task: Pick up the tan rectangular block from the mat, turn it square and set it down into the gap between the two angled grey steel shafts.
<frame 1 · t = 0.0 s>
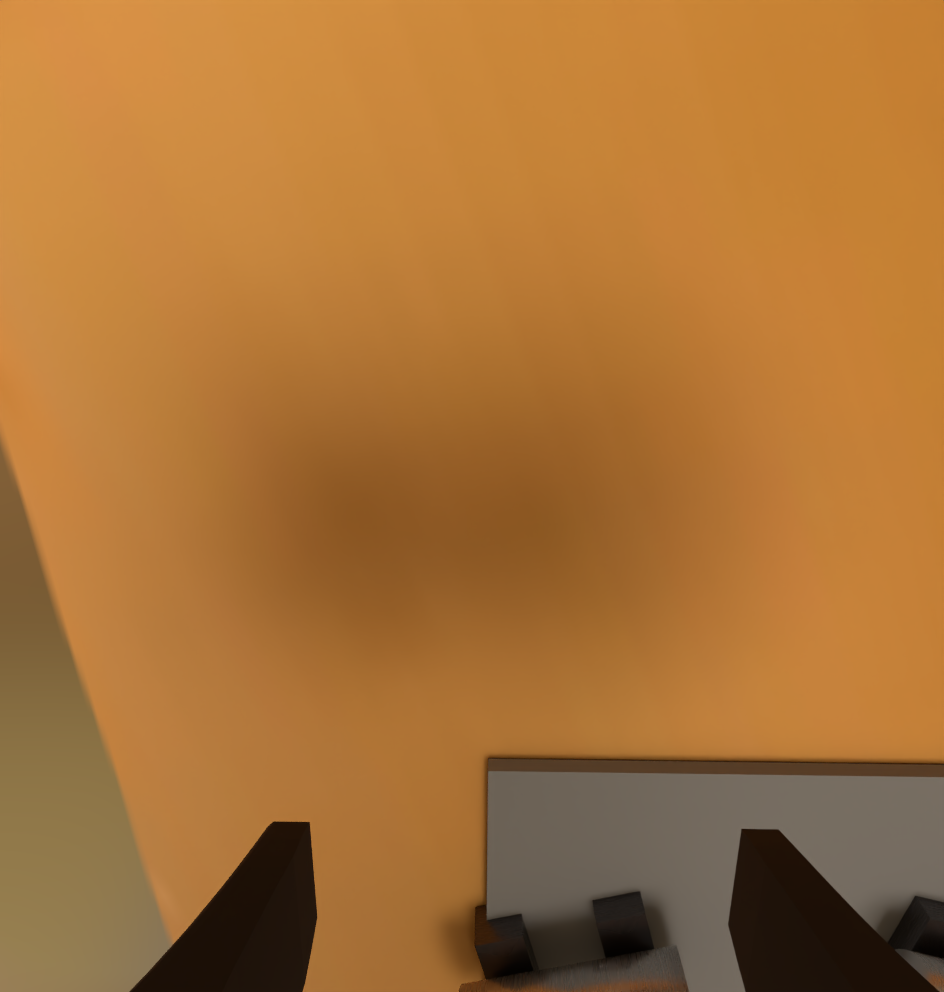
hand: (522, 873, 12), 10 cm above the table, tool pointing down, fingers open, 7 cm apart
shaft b: (568, 936, 26), resting on mat
mat: (787, 955, 26), on the table
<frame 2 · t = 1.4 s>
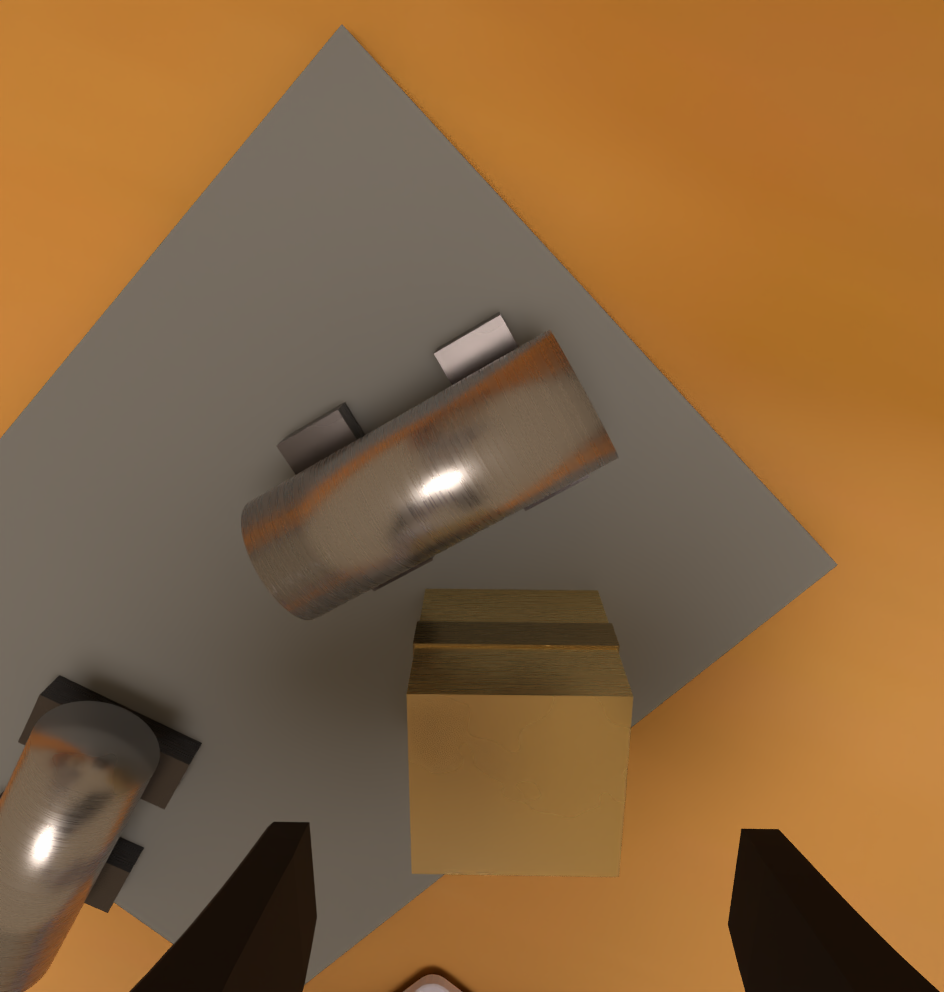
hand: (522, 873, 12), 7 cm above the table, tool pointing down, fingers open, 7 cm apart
tan rectangular block: (510, 665, 19), point 1 cm above the table, touching mat
shaft a: (437, 444, 18), resting on mat
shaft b: (103, 771, 21), resting on mat
mat: (303, 614, 19), on the table
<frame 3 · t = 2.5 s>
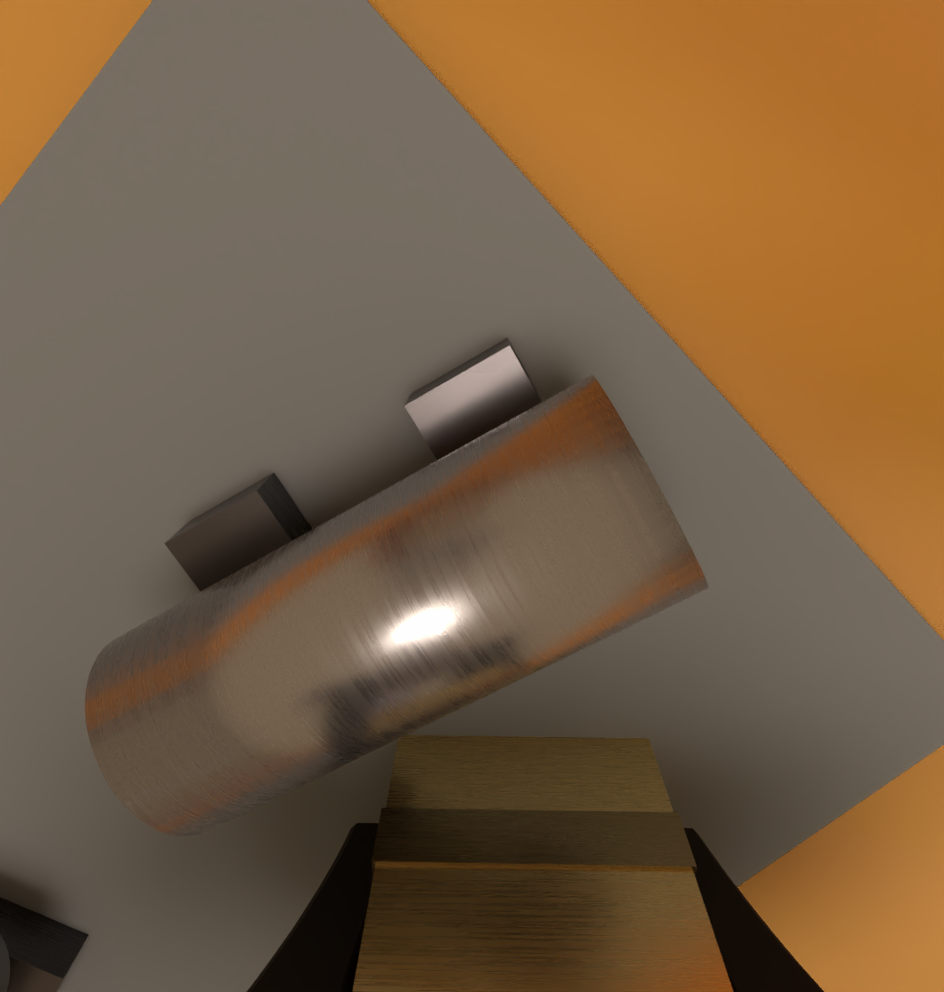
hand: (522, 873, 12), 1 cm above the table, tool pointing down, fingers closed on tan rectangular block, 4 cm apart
tan rectangular block: (520, 837, 13), point 1 cm above the table, touching gripper, mat
shaft a: (415, 530, 12), resting on mat
mat: (227, 760, 14), on the table
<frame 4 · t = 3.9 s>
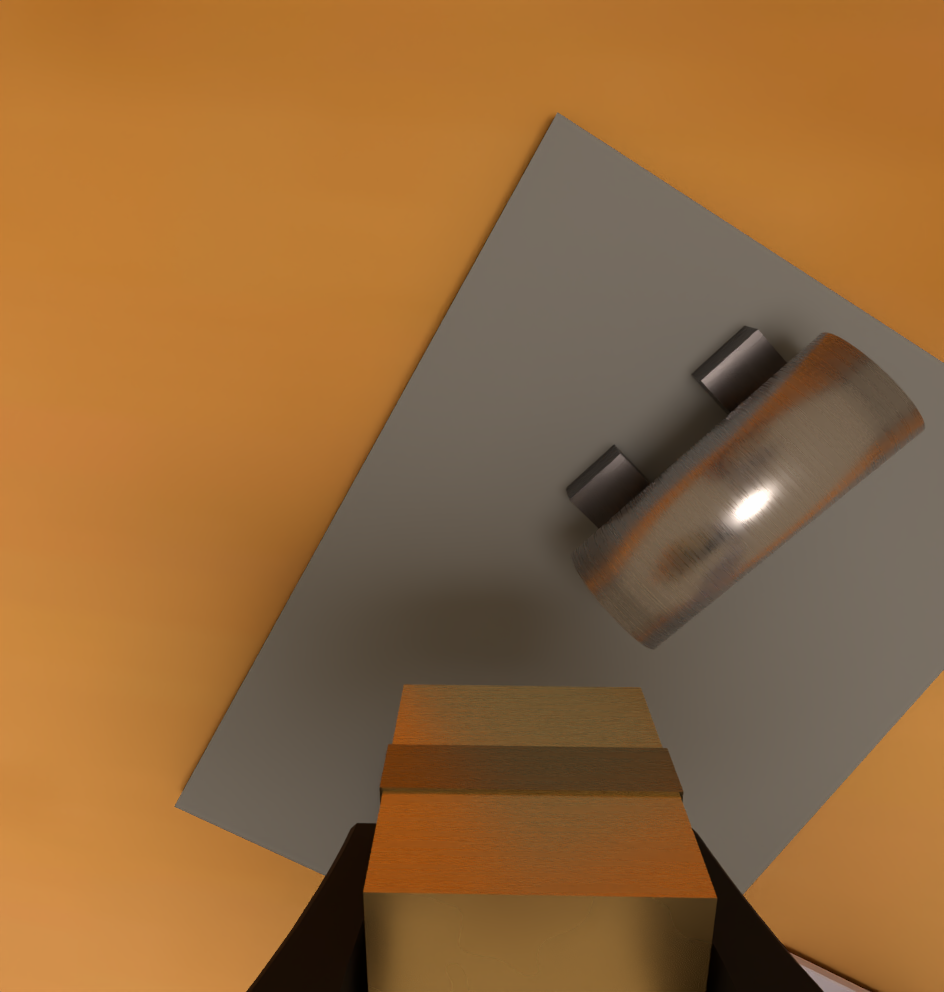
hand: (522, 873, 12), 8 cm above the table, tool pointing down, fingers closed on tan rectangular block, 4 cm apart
tan rectangular block: (519, 785, 14), point 7 cm above the table, touching gripper
shaft a: (698, 460, 19), resting on mat
mat: (599, 644, 21), on the table
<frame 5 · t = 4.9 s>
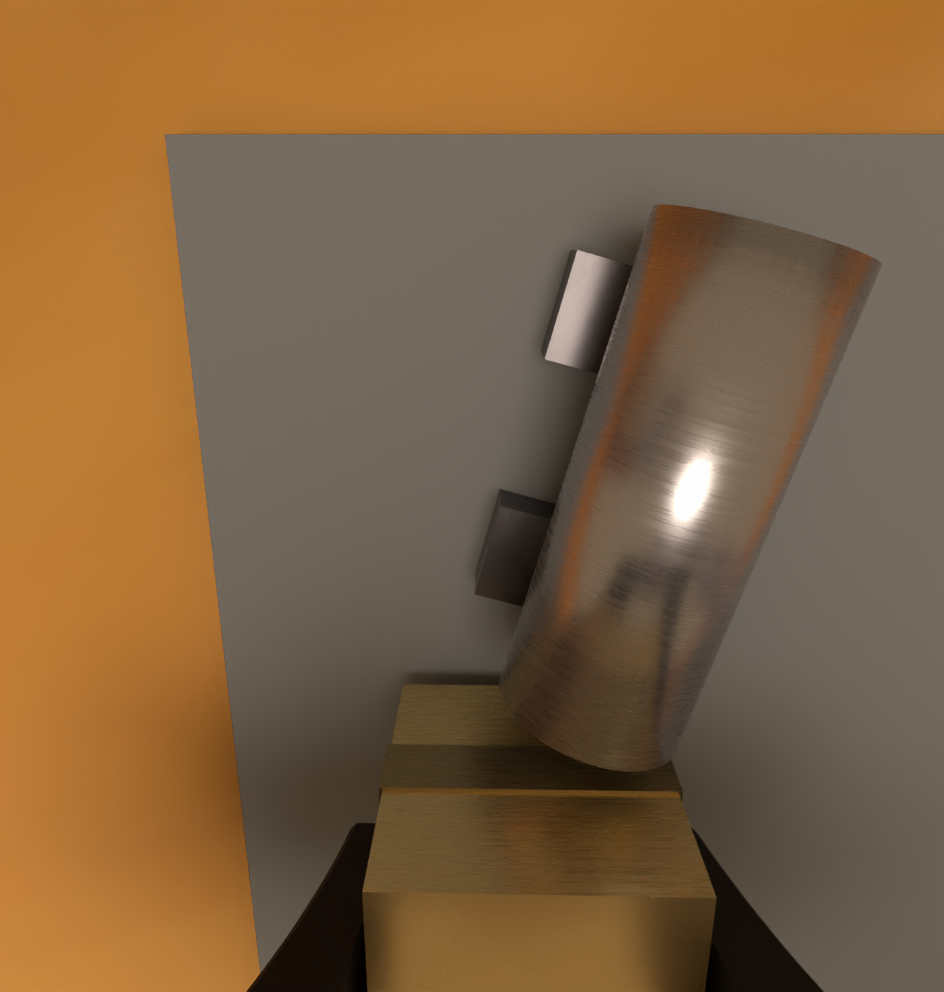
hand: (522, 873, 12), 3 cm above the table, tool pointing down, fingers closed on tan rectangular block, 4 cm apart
tan rectangular block: (518, 785, 14), point 1 cm above the table, touching gripper
shaft a: (628, 444, 13), resting on mat
mat: (645, 722, 15), on the table
when the fingers open (3 cm above the table, at t = 5.3 s): tan rectangular block stays where it is, resting on mat.
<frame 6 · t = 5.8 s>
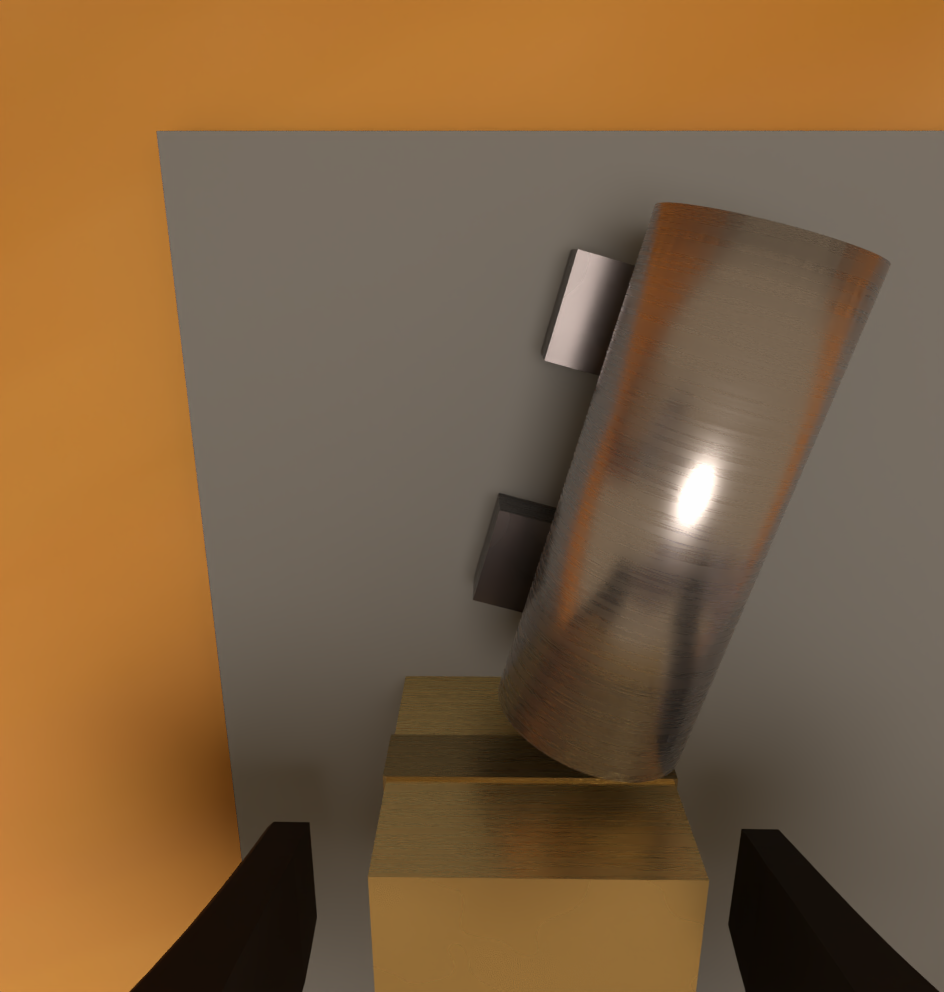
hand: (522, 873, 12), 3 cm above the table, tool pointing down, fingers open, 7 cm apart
tan rectangular block: (519, 773, 14), point 1 cm above the table, touching mat
shaft a: (629, 447, 13), resting on mat
mat: (646, 729, 15), on the table
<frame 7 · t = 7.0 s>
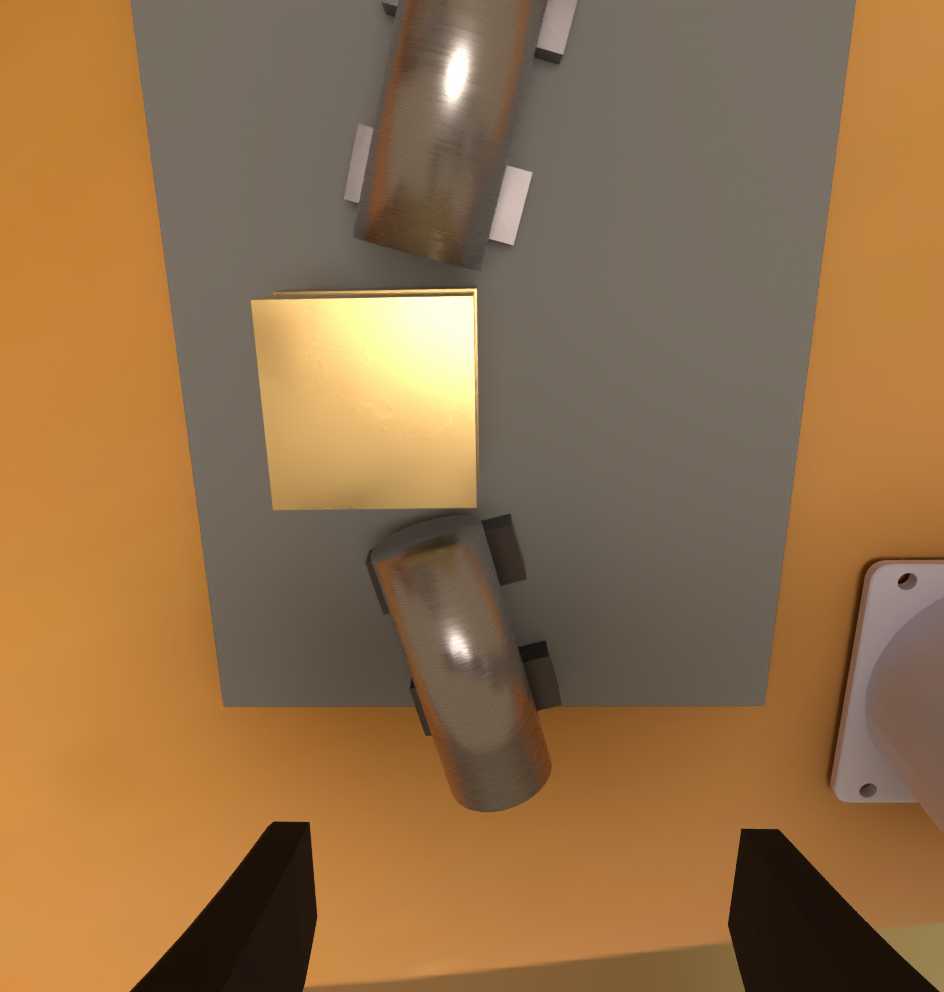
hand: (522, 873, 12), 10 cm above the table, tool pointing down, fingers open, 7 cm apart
tan rectangular block: (394, 372, 19), point 1 cm above the table, touching mat
shaft a: (460, 102, 18), resting on mat
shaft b: (467, 610, 22), resting on mat
mat: (491, 344, 19), on the table
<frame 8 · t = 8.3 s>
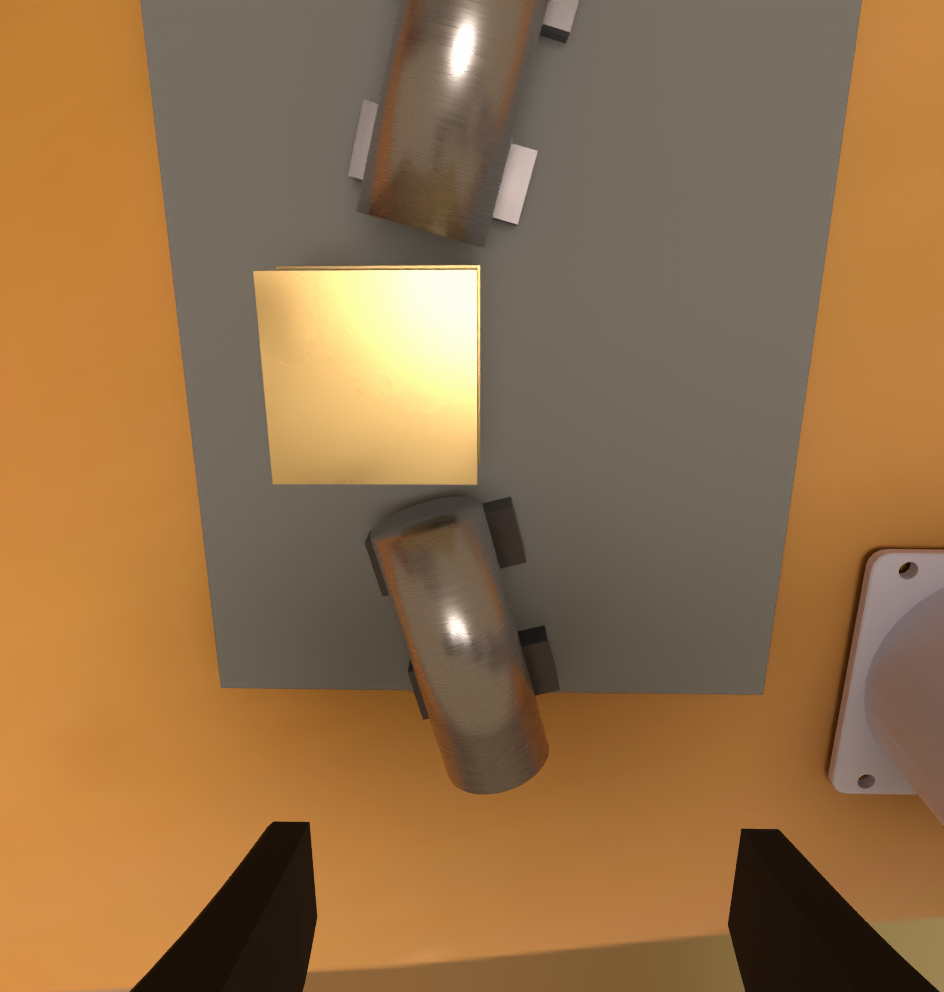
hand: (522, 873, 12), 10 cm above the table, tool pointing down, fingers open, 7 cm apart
tan rectangular block: (396, 352, 19), point 1 cm above the table, touching mat
shaft a: (466, 81, 18), resting on mat
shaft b: (466, 594, 22), resting on mat
mat: (494, 326, 19), on the table
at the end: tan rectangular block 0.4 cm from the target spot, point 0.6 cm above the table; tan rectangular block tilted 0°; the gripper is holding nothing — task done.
